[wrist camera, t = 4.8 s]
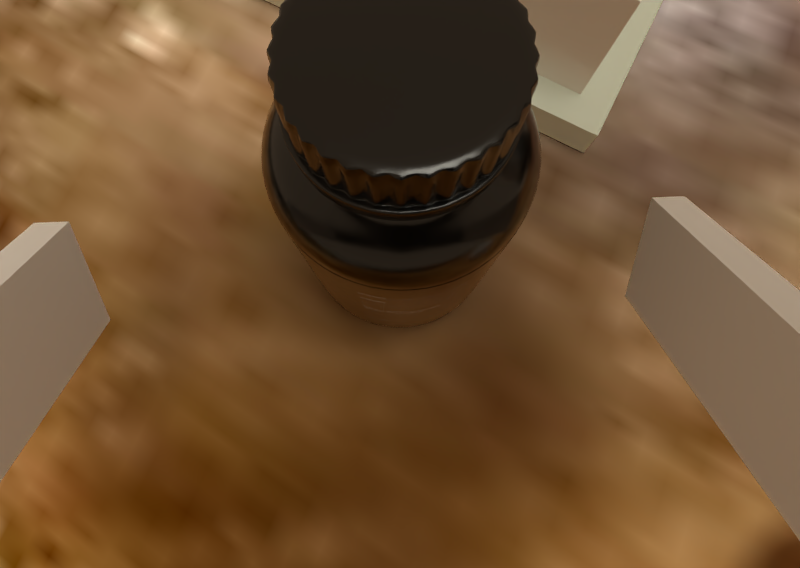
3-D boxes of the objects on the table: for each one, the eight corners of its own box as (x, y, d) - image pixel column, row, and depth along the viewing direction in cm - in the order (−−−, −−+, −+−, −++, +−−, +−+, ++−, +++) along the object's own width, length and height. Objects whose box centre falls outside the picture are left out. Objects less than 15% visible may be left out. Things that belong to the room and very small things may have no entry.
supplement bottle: (511, 207, 21) (666, -20, 9) (439, 359, 20) (510, 322, 8) (360, 136, 21) (323, -167, 10) (281, 281, 20) (126, 136, 8)
